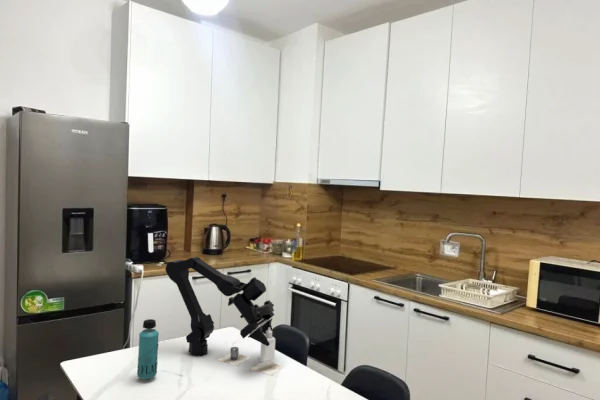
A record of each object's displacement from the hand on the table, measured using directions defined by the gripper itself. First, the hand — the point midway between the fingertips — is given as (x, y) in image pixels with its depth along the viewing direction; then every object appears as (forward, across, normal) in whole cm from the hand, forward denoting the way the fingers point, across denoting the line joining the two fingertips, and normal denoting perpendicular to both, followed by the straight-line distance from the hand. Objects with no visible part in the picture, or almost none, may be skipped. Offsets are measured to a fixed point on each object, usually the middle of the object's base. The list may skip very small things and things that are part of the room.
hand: (271, 342), depth 147 cm
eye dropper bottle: (+4, 0, +6) cm, 7 cm away
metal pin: (-4, +2, +18) cm, 18 cm away
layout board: (+2, 0, +14) cm, 14 cm away
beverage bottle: (-17, -24, +33) cm, 44 cm away
